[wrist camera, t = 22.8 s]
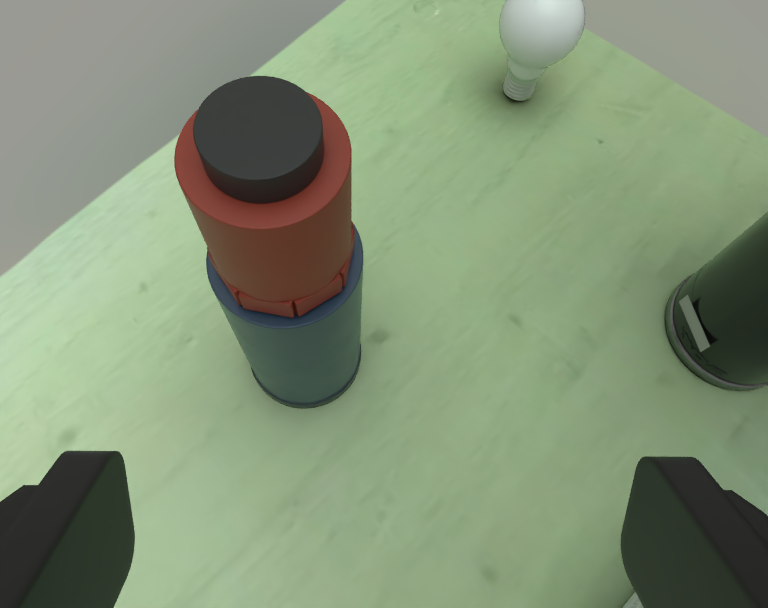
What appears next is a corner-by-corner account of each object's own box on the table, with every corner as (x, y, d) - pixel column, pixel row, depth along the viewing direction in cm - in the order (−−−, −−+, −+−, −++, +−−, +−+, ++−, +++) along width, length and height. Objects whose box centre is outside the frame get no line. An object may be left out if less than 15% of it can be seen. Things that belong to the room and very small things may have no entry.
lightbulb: (567, 102, 55) (616, -3, 45) (511, 134, 53) (549, 33, 43) (520, 55, 57) (557, -57, 46) (465, 85, 55) (491, -24, 45)
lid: (305, 175, 32) (288, 28, 23) (377, 270, 30) (388, 148, 21) (193, 236, 30) (129, 102, 22) (261, 340, 28) (221, 239, 20)
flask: (322, 285, 47) (307, 141, 31) (382, 368, 45) (399, 258, 29) (230, 340, 45) (164, 216, 29) (288, 430, 43) (250, 349, 27)
